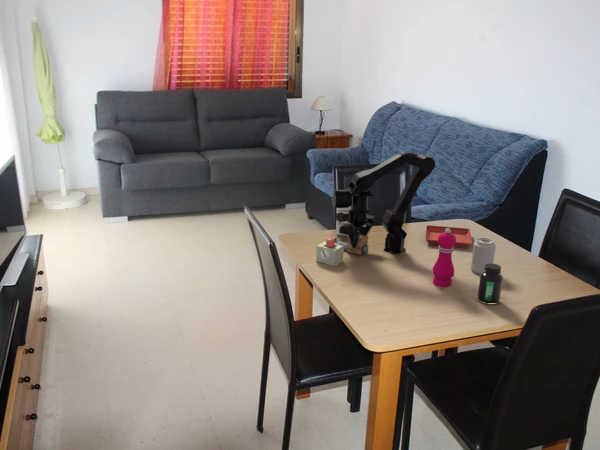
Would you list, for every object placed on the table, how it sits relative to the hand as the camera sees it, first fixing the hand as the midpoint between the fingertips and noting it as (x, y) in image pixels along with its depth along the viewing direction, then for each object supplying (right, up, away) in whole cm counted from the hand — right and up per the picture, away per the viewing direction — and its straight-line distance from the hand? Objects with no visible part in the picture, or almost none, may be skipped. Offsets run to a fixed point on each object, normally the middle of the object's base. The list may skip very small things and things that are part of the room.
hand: (357, 246), depth 228 cm
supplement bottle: (+39, -16, -36) cm, 55 cm away
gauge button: (-11, -1, -10) cm, 15 cm away
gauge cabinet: (-11, -5, -8) cm, 15 cm away
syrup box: (-4, +4, +21) cm, 22 cm away
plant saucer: (+38, +1, +16) cm, 42 cm away
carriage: (0, -2, +1) cm, 2 cm away
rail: (-3, -2, +3) cm, 4 cm away
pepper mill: (+27, -12, -25) cm, 38 cm away
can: (+43, -9, -14) cm, 46 cm away
